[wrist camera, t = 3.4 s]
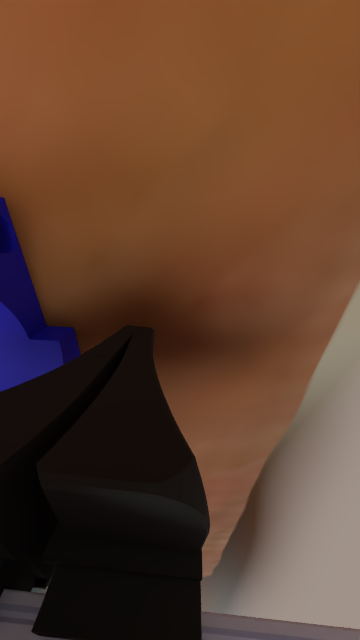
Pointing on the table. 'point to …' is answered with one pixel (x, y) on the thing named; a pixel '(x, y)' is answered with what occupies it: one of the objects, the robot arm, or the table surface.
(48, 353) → the cable clip
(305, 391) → the table surface
